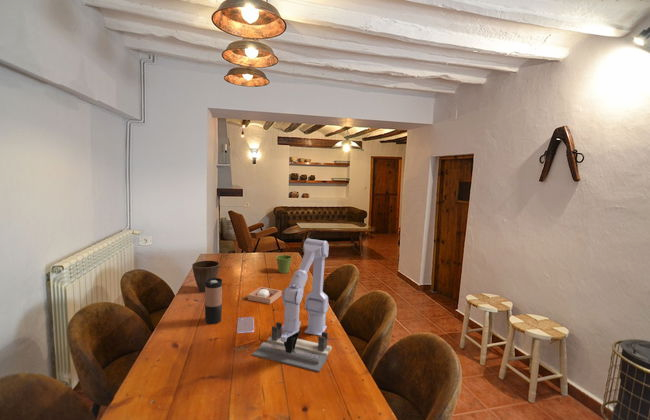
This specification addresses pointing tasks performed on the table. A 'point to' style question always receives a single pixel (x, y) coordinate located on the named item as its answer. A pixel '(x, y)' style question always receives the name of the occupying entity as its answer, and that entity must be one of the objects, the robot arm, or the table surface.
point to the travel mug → (213, 300)
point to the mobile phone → (245, 325)
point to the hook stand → (302, 342)
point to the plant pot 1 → (204, 272)
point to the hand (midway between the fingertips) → (290, 350)
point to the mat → (291, 359)
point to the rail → (293, 354)
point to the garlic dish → (254, 297)
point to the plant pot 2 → (283, 263)
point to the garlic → (263, 293)
